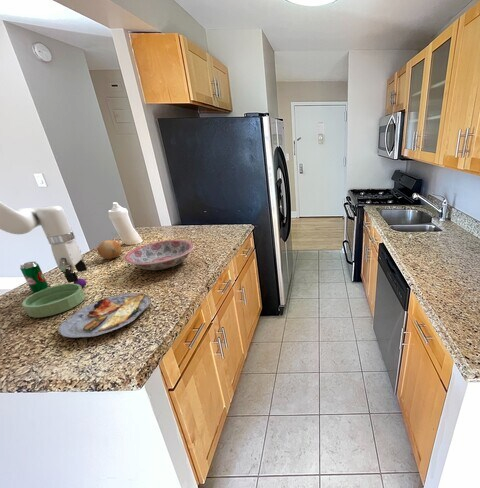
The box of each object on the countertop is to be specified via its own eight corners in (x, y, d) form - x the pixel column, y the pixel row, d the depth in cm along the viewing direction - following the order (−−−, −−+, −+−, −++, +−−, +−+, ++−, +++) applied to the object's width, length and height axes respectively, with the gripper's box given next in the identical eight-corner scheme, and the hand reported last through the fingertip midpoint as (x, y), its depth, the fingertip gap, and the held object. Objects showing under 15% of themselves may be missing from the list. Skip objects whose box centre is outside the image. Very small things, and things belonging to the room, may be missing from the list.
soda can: (28, 292, 107) (15, 265, 102) (43, 285, 111) (31, 260, 107) (37, 293, 105) (24, 267, 101) (52, 287, 110) (40, 261, 105)
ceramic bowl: (176, 249, 147) (173, 236, 144) (209, 260, 133) (206, 246, 130) (117, 270, 124) (112, 254, 121) (149, 286, 110) (144, 269, 107)
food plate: (101, 298, 102) (98, 291, 100) (162, 296, 103) (160, 288, 102) (41, 345, 79) (36, 336, 77) (121, 341, 80) (118, 332, 79)
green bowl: (18, 323, 88) (11, 311, 86) (41, 299, 101) (36, 288, 99) (76, 311, 94) (71, 300, 92) (91, 290, 107) (87, 280, 105)
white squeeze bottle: (132, 246, 151) (119, 204, 142) (114, 246, 151) (100, 204, 142) (145, 239, 162) (134, 200, 153) (129, 239, 162) (116, 200, 153)
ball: (73, 290, 107) (70, 282, 106) (77, 286, 111) (74, 277, 109) (85, 288, 109) (82, 280, 107) (89, 284, 112) (85, 275, 111)
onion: (109, 263, 131) (103, 245, 127) (96, 260, 134) (89, 242, 130) (128, 255, 139) (123, 238, 136) (115, 253, 142) (109, 236, 139)
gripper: (59, 232, 107) (75, 269, 114) (37, 247, 93) (57, 288, 99) (81, 229, 110) (96, 265, 117) (64, 243, 96) (81, 283, 102)
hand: (78, 276), depth 108 cm, fingers open, 9 cm apart
